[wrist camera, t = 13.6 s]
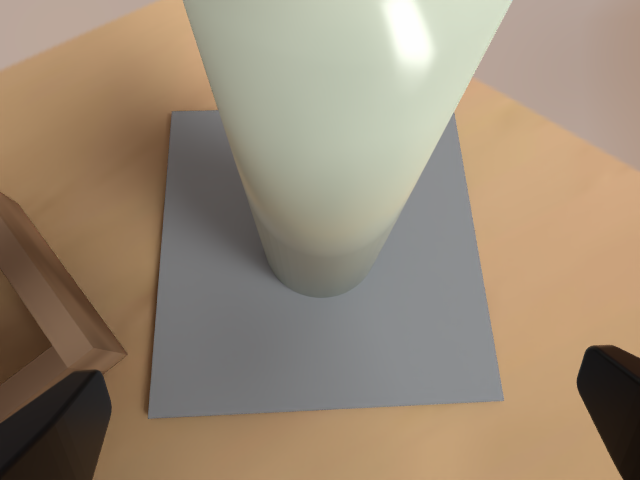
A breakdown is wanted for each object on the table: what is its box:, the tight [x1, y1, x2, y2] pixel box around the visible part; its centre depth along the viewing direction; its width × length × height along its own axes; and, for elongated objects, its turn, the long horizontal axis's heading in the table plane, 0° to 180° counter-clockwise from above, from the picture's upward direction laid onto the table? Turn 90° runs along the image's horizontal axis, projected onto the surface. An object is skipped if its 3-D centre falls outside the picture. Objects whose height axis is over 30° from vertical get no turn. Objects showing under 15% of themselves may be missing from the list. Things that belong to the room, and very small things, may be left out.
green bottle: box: [183, 0, 513, 298], centre depth 13 cm, size 5×5×14 cm
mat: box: [148, 110, 504, 419], centre depth 19 cm, size 14×14×1 cm
